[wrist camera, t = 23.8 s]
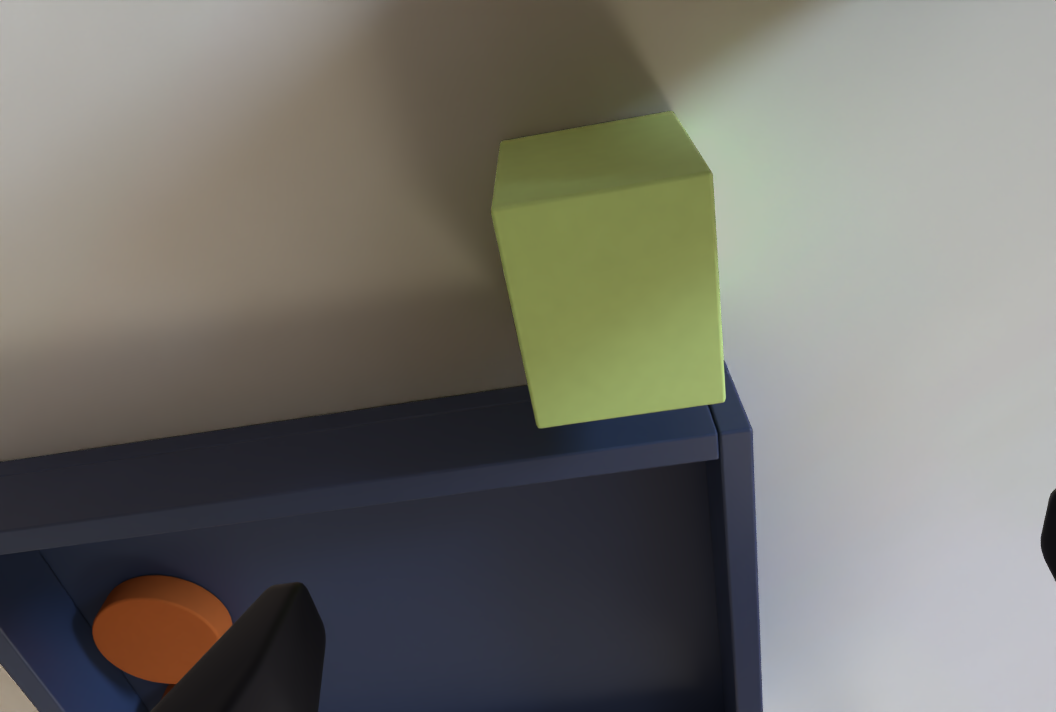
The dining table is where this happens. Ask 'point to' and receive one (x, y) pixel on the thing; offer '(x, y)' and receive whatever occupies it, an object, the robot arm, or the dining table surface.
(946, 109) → the dining table surface
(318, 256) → the dining table surface
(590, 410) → the sponge
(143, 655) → the orange flat cylinder
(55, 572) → the tray
